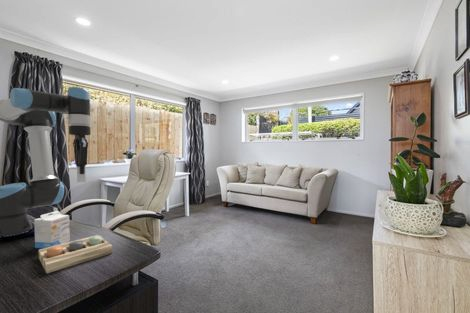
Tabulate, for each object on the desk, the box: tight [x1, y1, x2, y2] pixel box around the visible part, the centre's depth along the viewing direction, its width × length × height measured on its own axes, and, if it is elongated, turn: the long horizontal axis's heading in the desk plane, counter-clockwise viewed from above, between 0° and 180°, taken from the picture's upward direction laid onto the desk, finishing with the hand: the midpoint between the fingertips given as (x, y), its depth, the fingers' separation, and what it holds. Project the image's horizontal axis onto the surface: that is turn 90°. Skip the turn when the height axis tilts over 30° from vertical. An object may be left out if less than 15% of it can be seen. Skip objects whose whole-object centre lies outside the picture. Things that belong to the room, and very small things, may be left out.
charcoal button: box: [69, 240, 83, 252], centre depth 88 cm, size 4×4×3 cm
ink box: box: [33, 210, 71, 249], centre depth 98 cm, size 9×8×13 cm
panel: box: [38, 234, 113, 274], centre depth 88 cm, size 16×20×3 cm
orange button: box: [47, 246, 62, 258], centre depth 83 cm, size 4×4×3 cm
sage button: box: [89, 235, 103, 247], centre depth 93 cm, size 4×4×3 cm
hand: (81, 181), depth 98 cm, fingers closed
